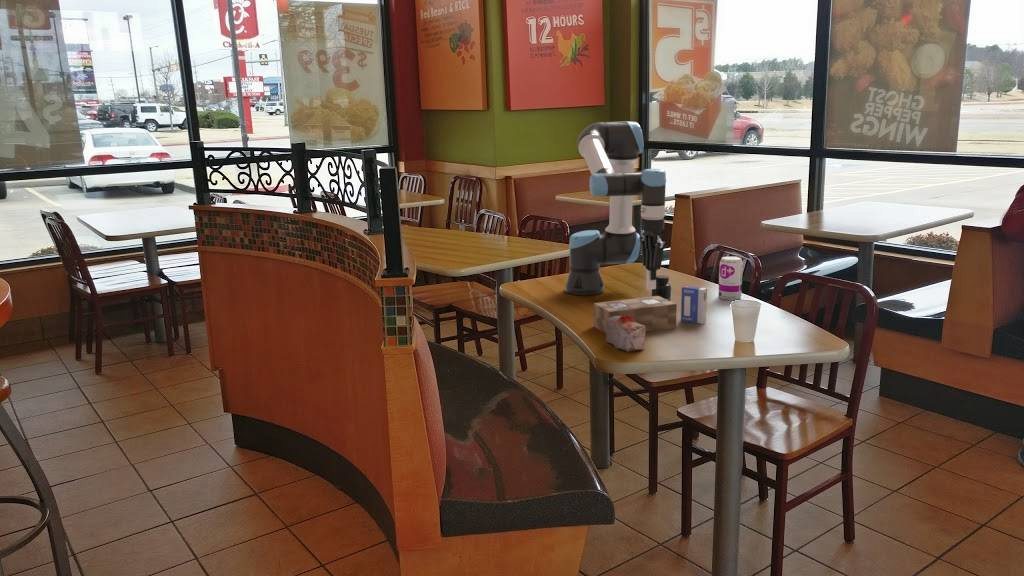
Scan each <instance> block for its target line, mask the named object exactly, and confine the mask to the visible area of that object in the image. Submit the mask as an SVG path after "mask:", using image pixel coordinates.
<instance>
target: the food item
mask: <svg viewBox="0 0 1024 576" xmlns="http://www.w3.org/2000/svg"><path fill="white" fill-rule="evenodd" d="M606 321H607V323H606V334H605V342H606V343H608V344H611V345H613V346H614V347H615V349H621V350H623V351H626V352H627V353H630V352H631V351H633V352H640V351H643V350H645V341H646V340H645V339H646V332H647V331H646V330H645V326H644V325H641V324H639V323H636V322H634V321H635V319H634V318H632V316H626V315H624V316H613V317H610V318H608V319H607V320H606ZM645 331H646V332H645ZM639 350H640V351H639Z"/></svg>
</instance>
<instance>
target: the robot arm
mask: <svg viewBox="0 0 1024 576" xmlns="http://www.w3.org/2000/svg"><path fill="white" fill-rule="evenodd" d="M644 145H645V143H644V135H643V130H642V128H641V126H640V124H639V123H638V122H637V121H629V120H628V121H626V120H623V121H622V120H621V121H600V122H599V121H598V122H594V123H592V124H590V125H588V126H587V127H585V128H584V129H583V130H581V133H580V134H579V136H578V138H577V149H578V152H579V154H580V155H581V157H582V158H584V160H585V162H586V165H587V167H588V170H589V171H590V174H591V175H590V176H589V182H588V183H589V184H588V185H589V192H590V195H591V196H592V197H600V198H605V197H609V216H608V217H609V218H608V219H609V221H608V222H609V224H608V226H607V227H605V229H604V230H605V231H604V233H602V234H601V233H600V231H599V230H597V229H589V230H582V231H581V230H580V231H578V232H575V233H573V234H571V236H570V237H569V246H568V248H569V273H568V275H567V278H566V281H565V285H564V291H566V292H567V293H566V292H565V293H566V294H569V293H570V294H569V295H574V296H596V295H600V294H602V293H604V292H605V284H604V281H603V278H602V275H601V272H600V269H601V268H600V266H601V265H615V264H617V265H618V264H620V265H621V264H622V265H623V264H631V263H635V262H636V260H637V259H638V257H639V253H640V249H641V258H642V266H643V267H645V269H646V286H645V287H646V290H647V291H649V290H650V291H652V289H656V276H657V271H658V270H661V267H662V262H663V256H664V250H665V246H666V241H662V234H661V232H662V231H664V230H665V218H664V217H666V189H667V188H666V184H667V179H666V178H667V177H666V171H665V170H664V169H662V168H645V169H643V170H640V171H637V172H634V171H635V163H636V161H637V160H638V159H639V154H642V153H643V152H644ZM634 196H641V206H640V211H641V213H640V216H641V219H640V229H641V230H642V231H643V235H641V236H640V234H639V233H638V232H636V228H635V226H633V200H634Z"/></svg>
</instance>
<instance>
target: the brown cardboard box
mask: <svg viewBox="0 0 1024 576" xmlns="http://www.w3.org/2000/svg"><path fill="white" fill-rule="evenodd" d="M651 299H655V300H657V301H659V302H661V303H657V304H646V303H643V302H641V301H643V300H651ZM617 303H623V304H625V305H627V306H629V307H623V308H613V307H611V306H609V305H608V304H617ZM677 308H678V307H677V303H675V302H673V301H672V300H671V301H669V300H666V299H664V298H662V297H660V296H652V297H651V296H646V297H635V298H629V299H619V300H611V301H610V300H608V301H602V302H593V328H596V329H597V330H599V331H600V332H602V333H603V334H605V335H606V323H607V321H606V320H607V319H608V318H610V317H613V316H624V315H626V316H632V318H634V319H635V321H634V322H636V323H639V324H641V325H644V326H645V330H646V331H645V333H646V332H653V331H654V332H655V331H660V330H667V329H668V328H669V329H676V328H677V310H678V309H677ZM669 329H668V330H669Z"/></svg>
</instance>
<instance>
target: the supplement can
mask: <svg viewBox="0 0 1024 576" xmlns="http://www.w3.org/2000/svg"><path fill="white" fill-rule="evenodd" d="M743 265H744V262H743V260H742V258H741V257H739V256H735V255H734V256H732V255H731V256H721V258H720V261H719V273H718V274H719V275H718V276H719V277H718V294H717V295H718V297H719V298H720V299H721V298H722V299H721V300H726V299H727V300H728V301H736V300H739V299H740V298H741V297H742V290H743V287H742V286H743V267H744V266H743Z"/></svg>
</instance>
